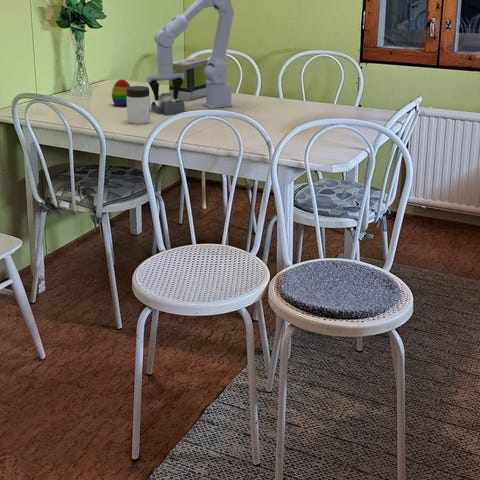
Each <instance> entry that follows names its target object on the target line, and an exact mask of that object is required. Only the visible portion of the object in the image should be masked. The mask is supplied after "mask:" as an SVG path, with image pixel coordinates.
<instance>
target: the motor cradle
mask: <svg viewBox="0 0 480 480" xmlns="http://www.w3.org/2000/svg"><path fill="white" fill-rule="evenodd" d="M150 111H152V112H155V113H156V114H158V115H161V114H162V115H163V114H164V116H171V114H172V115H178V114H177V113H181V112H186V111H185V101H184V100H178V99H169V101H164V102H162V107H160V106H159V104H156V101H152V102H151V103H150Z"/></svg>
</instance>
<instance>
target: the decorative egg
mask: <svg viewBox="0 0 480 480" xmlns="http://www.w3.org/2000/svg"><path fill="white" fill-rule="evenodd" d="M127 87H131V85H130V83H129V82H128V81H126V80H125V79H119V80H117V81H116V82H115V83H114V85H113V87H112V90H111V98H112V102H113V104H114V105H115V106H116V107H127V98H126V97H127V95H126V88H127Z"/></svg>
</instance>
